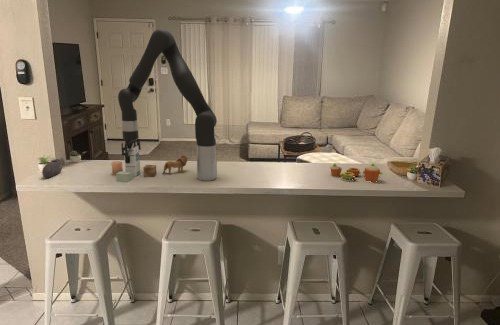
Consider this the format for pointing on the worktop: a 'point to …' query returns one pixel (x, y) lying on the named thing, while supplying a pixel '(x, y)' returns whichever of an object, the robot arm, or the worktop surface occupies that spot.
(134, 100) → the robot arm
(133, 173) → the syrup box
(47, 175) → the perforated stone tool
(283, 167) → the worktop surface
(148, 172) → the walnut block
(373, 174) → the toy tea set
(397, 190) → the worktop surface
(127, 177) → the sage painted block
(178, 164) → the lion figurine
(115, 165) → the orange-brown rounded piece
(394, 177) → the worktop surface
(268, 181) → the worktop surface
